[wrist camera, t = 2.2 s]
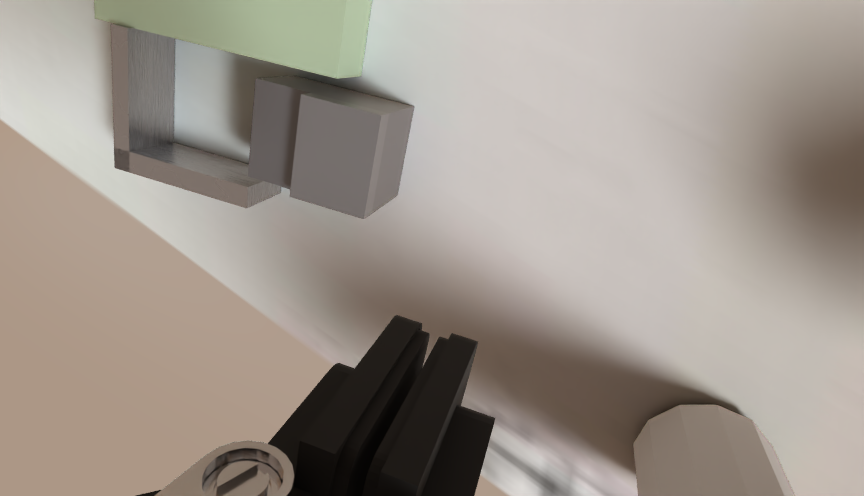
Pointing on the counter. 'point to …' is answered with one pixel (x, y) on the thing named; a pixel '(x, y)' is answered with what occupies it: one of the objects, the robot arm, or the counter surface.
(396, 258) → the counter surface
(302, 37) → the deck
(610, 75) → the counter surface
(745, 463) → the water bottle
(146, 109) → the side bracket
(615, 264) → the counter surface
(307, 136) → the gray stepped block
